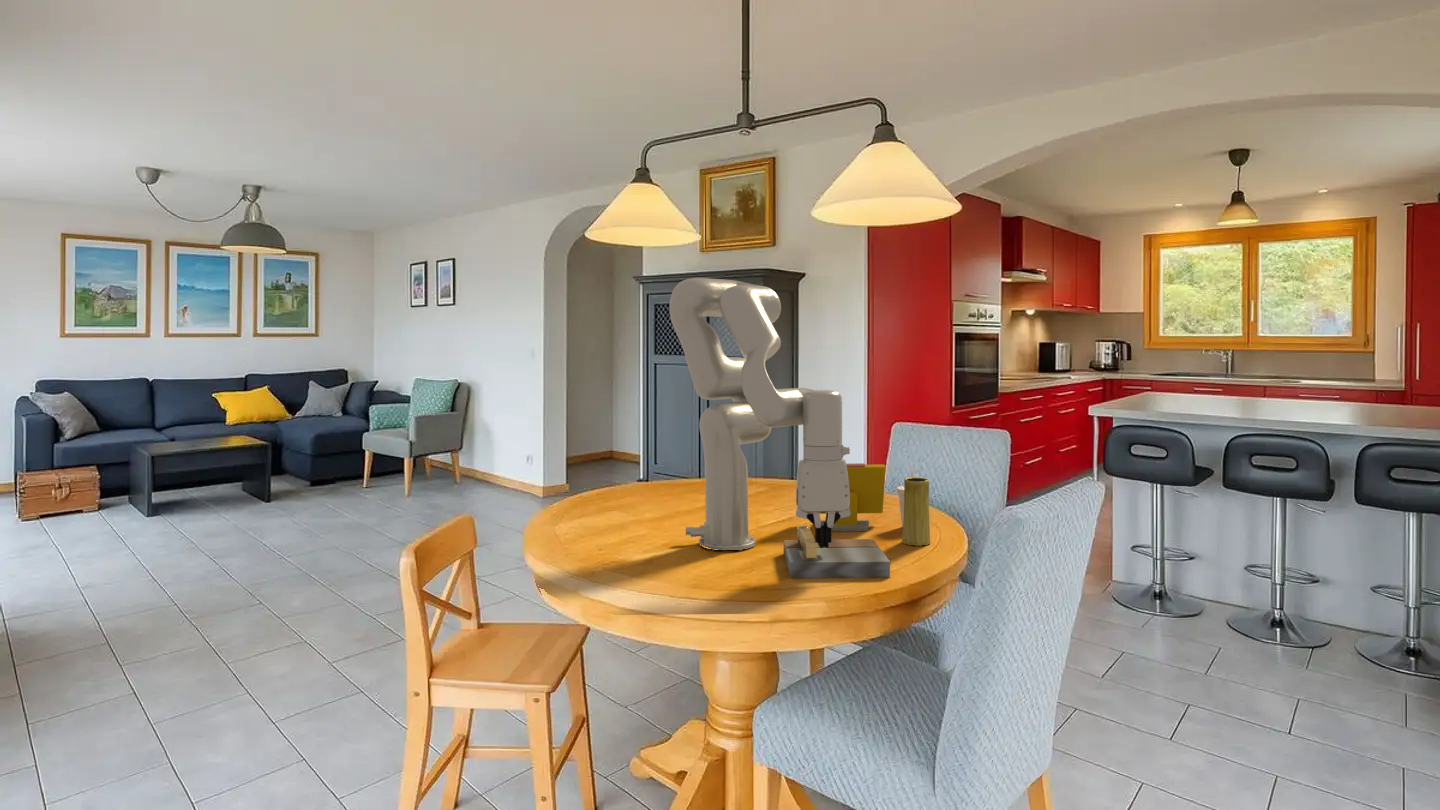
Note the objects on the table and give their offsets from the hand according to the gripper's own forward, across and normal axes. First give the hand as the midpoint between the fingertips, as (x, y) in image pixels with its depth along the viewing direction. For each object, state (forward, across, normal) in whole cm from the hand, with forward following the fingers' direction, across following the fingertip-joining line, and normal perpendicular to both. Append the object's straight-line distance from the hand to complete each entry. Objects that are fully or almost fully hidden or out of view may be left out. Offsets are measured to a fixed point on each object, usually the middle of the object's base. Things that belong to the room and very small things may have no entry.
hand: (823, 546), depth 152 cm
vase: (+5, -24, -19) cm, 31 cm away
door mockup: (+5, -3, -3) cm, 6 cm away
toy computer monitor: (+5, -11, -34) cm, 36 cm away
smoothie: (+5, -26, -33) cm, 42 cm away
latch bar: (+1, +3, -3) cm, 5 cm away
